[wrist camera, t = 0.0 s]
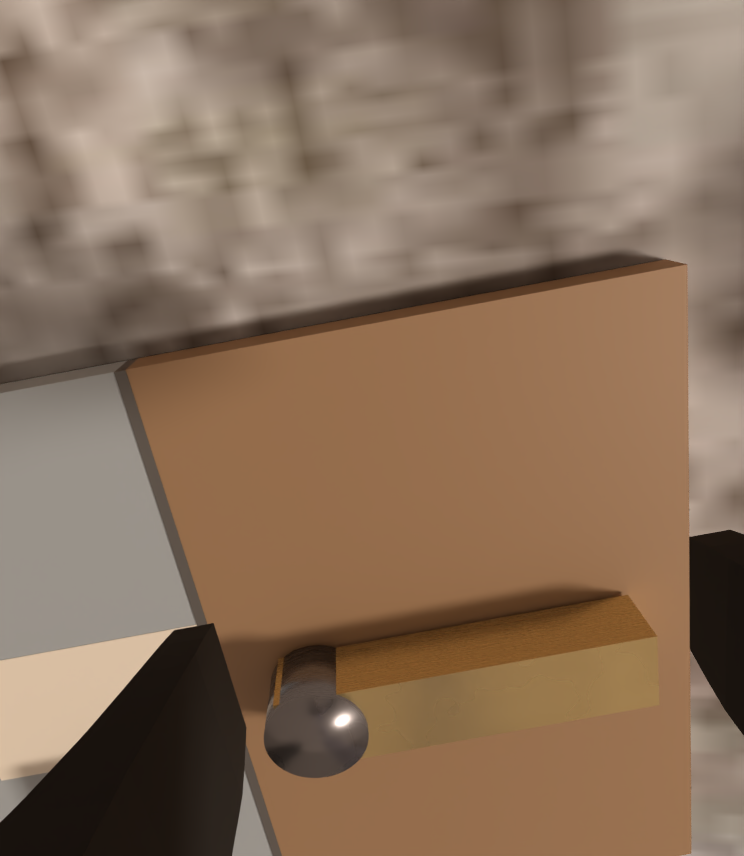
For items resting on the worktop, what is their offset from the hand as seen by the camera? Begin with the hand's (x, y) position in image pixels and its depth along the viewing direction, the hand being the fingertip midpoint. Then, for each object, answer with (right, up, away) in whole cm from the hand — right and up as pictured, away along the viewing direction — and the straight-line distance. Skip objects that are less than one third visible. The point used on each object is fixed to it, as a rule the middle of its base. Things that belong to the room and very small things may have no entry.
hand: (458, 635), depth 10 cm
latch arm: (+1, -4, +11) cm, 12 cm away
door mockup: (-5, -5, +12) cm, 14 cm away
